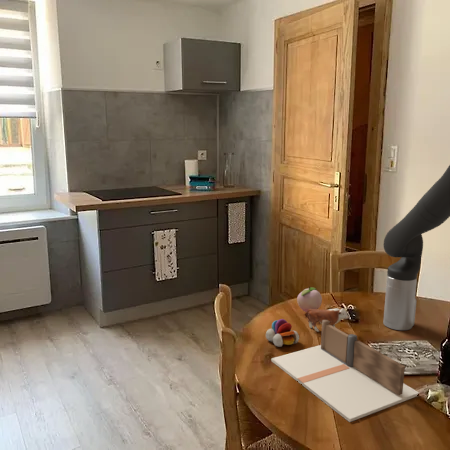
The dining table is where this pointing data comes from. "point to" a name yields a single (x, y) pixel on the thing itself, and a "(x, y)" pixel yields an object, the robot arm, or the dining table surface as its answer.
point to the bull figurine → (325, 316)
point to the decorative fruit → (309, 299)
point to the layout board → (339, 376)
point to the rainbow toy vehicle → (282, 333)
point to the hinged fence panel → (379, 367)
